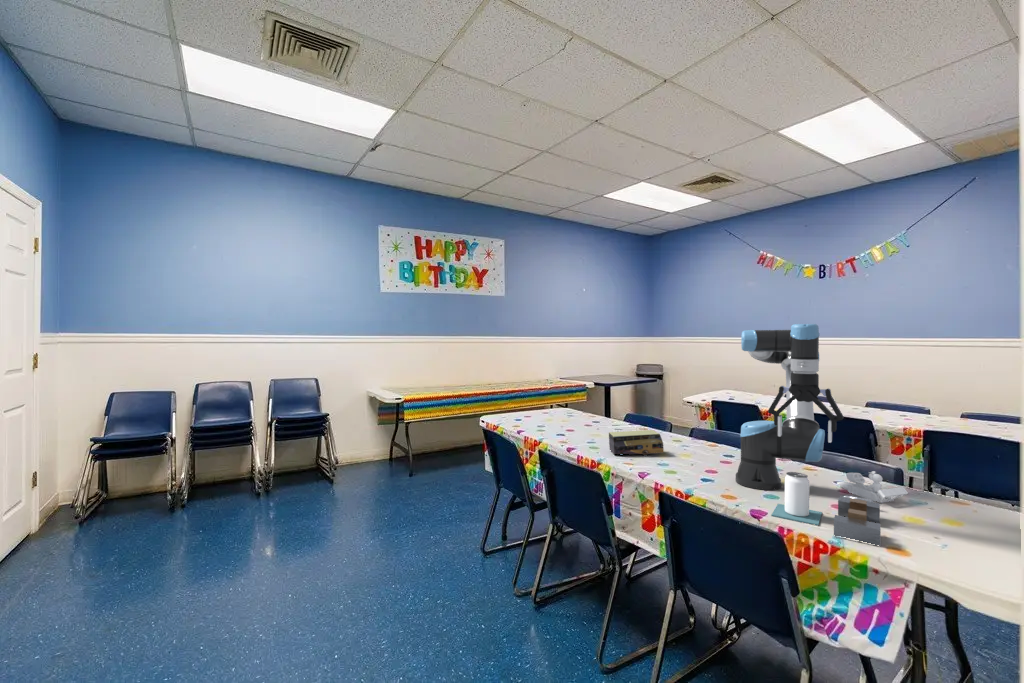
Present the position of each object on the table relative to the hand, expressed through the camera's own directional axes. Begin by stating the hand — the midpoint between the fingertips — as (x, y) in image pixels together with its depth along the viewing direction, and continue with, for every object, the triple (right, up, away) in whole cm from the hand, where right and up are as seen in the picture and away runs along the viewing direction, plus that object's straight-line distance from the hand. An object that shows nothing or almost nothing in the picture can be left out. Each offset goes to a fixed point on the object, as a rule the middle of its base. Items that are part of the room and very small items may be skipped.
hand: (804, 438), depth 146 cm
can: (-5, -22, -5) cm, 23 cm away
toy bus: (-35, -22, +71) cm, 82 cm away
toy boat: (+30, -23, +13) cm, 39 cm away
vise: (+9, -23, -11) cm, 27 cm away
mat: (-5, -23, -5) cm, 24 cm away
